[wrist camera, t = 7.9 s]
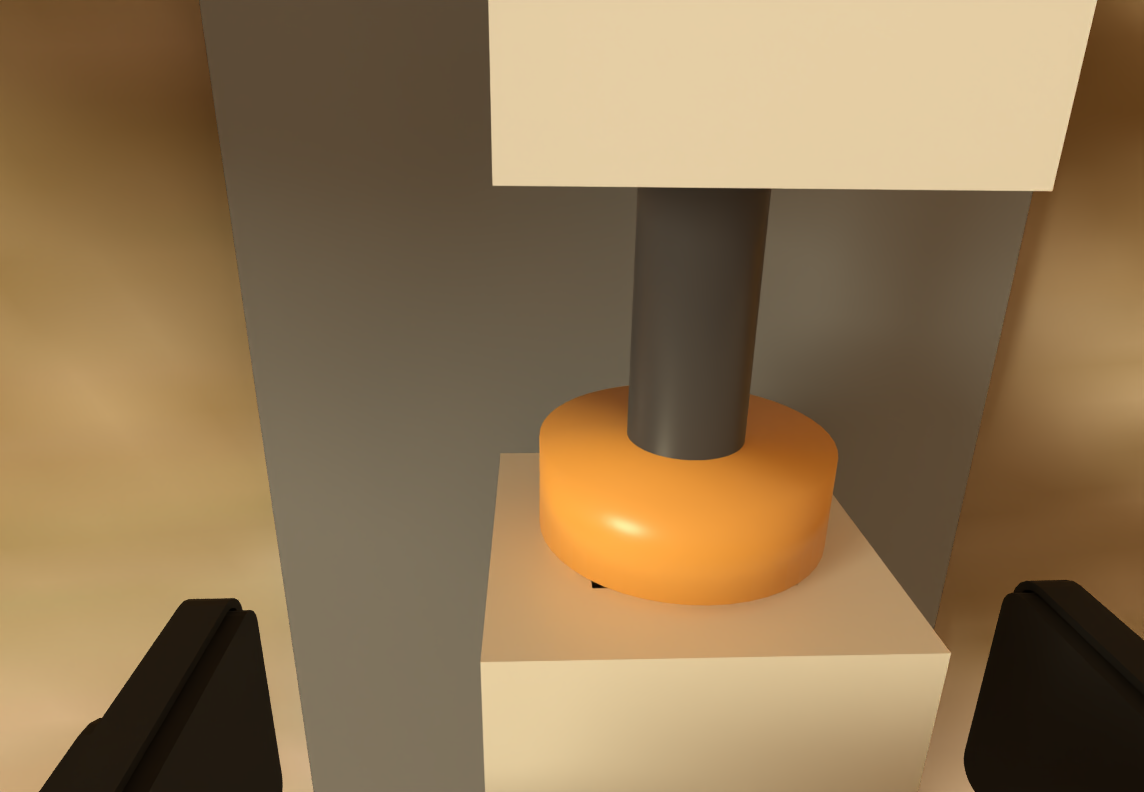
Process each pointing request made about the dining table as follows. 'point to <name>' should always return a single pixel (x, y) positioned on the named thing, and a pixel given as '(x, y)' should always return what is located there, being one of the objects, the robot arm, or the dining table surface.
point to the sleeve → (700, 674)
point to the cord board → (611, 305)
